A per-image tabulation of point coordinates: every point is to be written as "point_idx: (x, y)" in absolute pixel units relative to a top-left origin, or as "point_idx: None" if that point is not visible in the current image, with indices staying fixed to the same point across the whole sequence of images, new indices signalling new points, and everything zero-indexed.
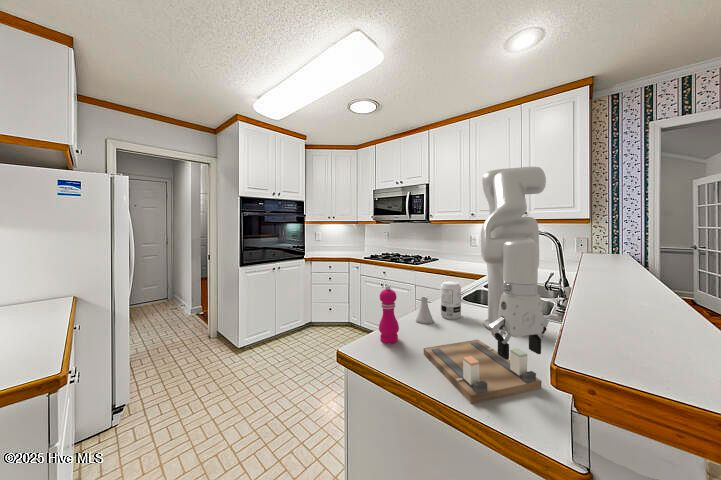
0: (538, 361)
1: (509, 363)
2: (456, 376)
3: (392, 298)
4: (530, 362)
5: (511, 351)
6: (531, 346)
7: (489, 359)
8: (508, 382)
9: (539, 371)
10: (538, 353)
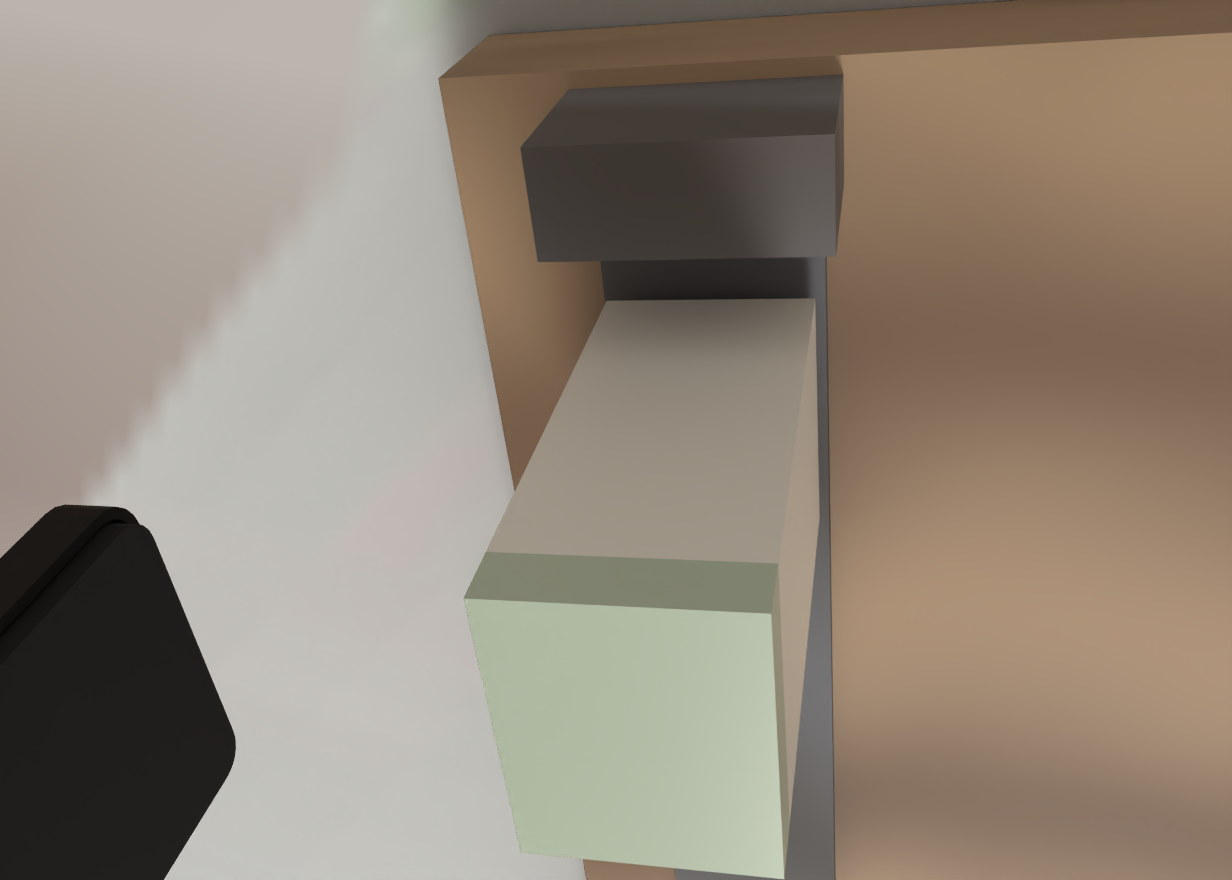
0: None
1: None
2: None
3: None
4: (206, 628)
5: (784, 822)
6: (151, 784)
7: (892, 840)
8: (1210, 194)
9: (210, 430)
10: (123, 527)
